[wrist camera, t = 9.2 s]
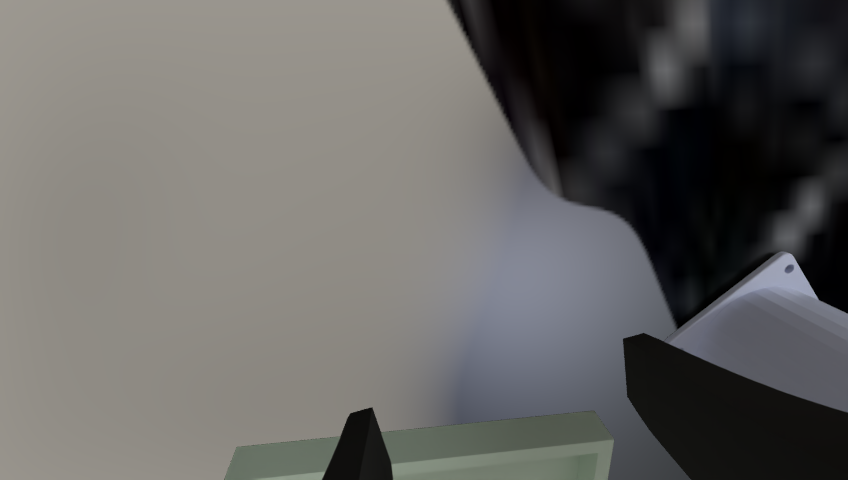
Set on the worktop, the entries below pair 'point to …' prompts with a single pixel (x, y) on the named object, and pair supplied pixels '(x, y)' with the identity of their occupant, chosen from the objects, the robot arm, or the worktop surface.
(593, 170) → the worktop surface
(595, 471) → the tray
